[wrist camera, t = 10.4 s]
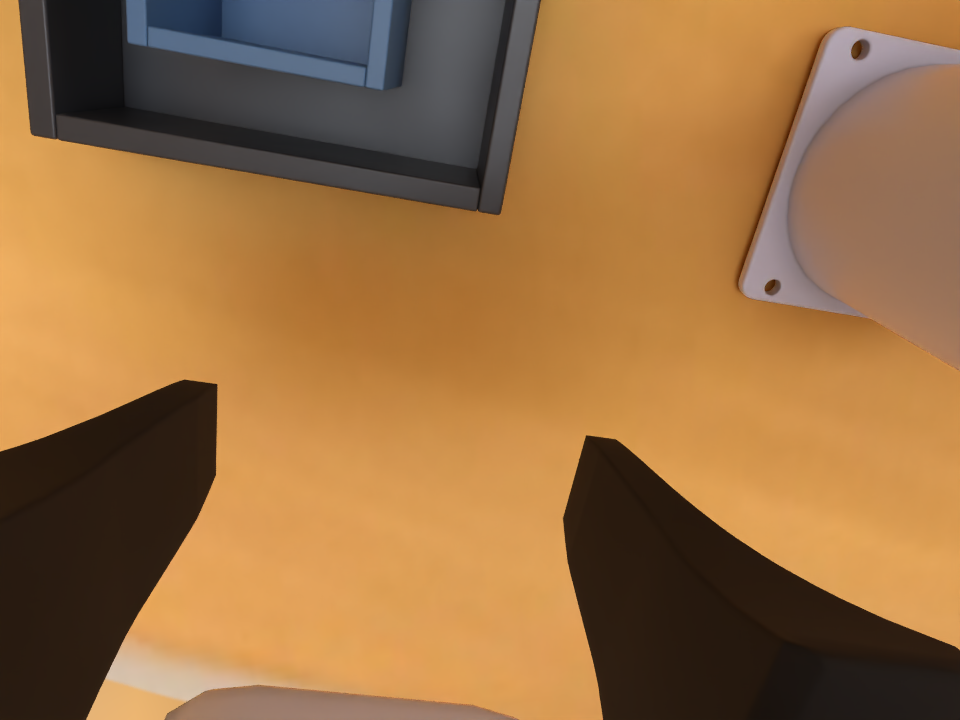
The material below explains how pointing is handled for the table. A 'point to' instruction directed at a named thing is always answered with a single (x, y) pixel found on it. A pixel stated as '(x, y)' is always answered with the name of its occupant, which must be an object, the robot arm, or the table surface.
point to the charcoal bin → (295, 102)
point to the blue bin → (283, 35)
